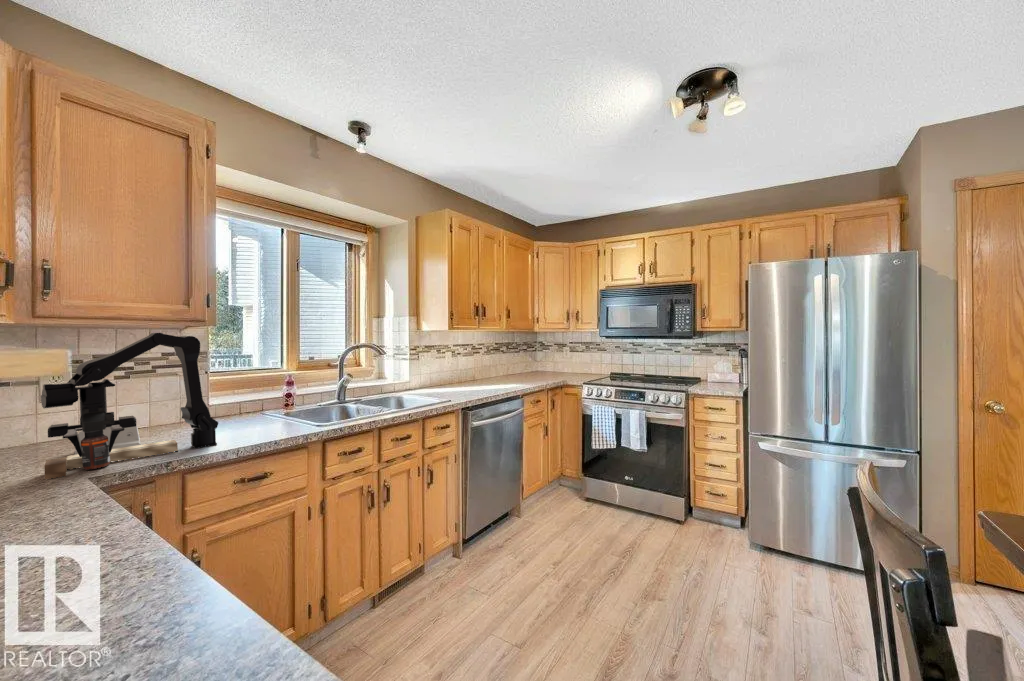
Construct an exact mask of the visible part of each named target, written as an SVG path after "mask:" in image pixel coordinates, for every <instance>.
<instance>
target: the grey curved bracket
mask: <svg viewBox="0 0 1024 681" xmlns="http://www.w3.org/2000/svg"><path fill="white" fill-rule="evenodd" d="M111 428H112V427H106V429H104V430H103V434H104V435H105V436H107V437H108V443H109V440H110V433H111ZM124 429H125V430H124V431H120V432H119V434H118V436H117V437H116V439H115V442H114V445H113V447H112V449H117V448H124V447H130V446H137V445H142V443H141V439H140V438H141V437H140V434H139V427H138V426H137V425H136V426H135V427H128V428H124ZM84 435H85V433H84V432H83V430H81V431H78V437H79V441H80V446H81V440H82V439H84V437H85V436H84ZM73 453H74V455H77V454H78V452H77V450H76V449H75V448H74V452H73Z"/></svg>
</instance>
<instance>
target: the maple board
mask: <svg viewBox="0 0 1024 681" xmlns="http://www.w3.org/2000/svg"><path fill="white" fill-rule="evenodd" d="M174 451H178V442H177V441H176V439H171V440H165V441H159V442H151V443H145V444H141V445H137V446H130V447H124V448H117V449H112V450H111V452H109V455H110V462H111V461H118V460H124V461H126V460H125V459H130V460H133V459H132V458H136V459H139V458H138V457H143V458H145V457H144V456H149V457H152V456H151V455H155V456H158V455H157V454H161V455H164V454H163V453H167V454H169V453H168V452H173V453H175V452H174ZM66 459H67V469H70V470H74V469H73V468H76V469H80V468H79V467H82V468H83V464H82V457H80V456H79V454H77V455H75V454H72V455H67V456H66ZM118 462H119V461H118Z"/></svg>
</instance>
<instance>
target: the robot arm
mask: <svg viewBox="0 0 1024 681" xmlns="http://www.w3.org/2000/svg"><path fill="white" fill-rule="evenodd" d="M158 346H163V347H169V348H173V349H174V352H175V355H176V356H177V358H178V360H179V361H180V363H181V370H182V371H181V372H182V378H183V384H184V391H185V396H186V403H185V406H180V411H181V419H183V420H184V422H185V423H187V424H188V425H189V426H190V428H191V429H192V433H190V445H191V446H192V447H193V446H194V447H195V448H194V447H193V448H194V449H199V448H198V447H200V448H205V446H206V447H212V446H217V445H218V443H217V440H216V435H217V433H216V429H217V428H218V425H219V422H218V421H217V420H215V419H214V418H212V417H211V412H210V410H209V408H208V406H207V404H206V402H205V400H204V399H203V392H202V387H201V378H200V377H201V376H200V371H199V370H200V369H199V365H198V364H199V363H198V360H199V356H200V352H201V341H200V339H199V338H197V337H196V336H193V335H182V336H179V335H178V336H177V335H171V334H167V333H163V332H151V333H150V334H148V335H146V336H145V337H143V338H141V339H139V340H137V341H135V342H133V343H131V344H129V345H128V344H127V345H126V346H125V347H122V348H120V349H118V350H117V351H114V352H112V353H109V354H107V355H104V356H100V357H96V358H92V359H90V360H88V361H84V362H81V363H80V364H79V365H78V366H76V371H75V372H76V373H75V374H74V375H73V376H72V377H71V378H70V379H69V380H68V381H67V382H64V383H44V384H42V390H41V394H40V403H41V406H42V407H41V408H42V409H44V410H45V409H52V408H59V407H61V408H62V407H69V406H73V405H74V403H77V402H78V401H79V414H80V415H79V424H74V425H73V424H72V425H69V423H68V422H66V423H58V424H51V425H50V426H49V427H48V428H47V438H48V439H49V438H58V437H62V439H63V440H64V439H68V440H69V441H70V443H71V444H72V445H73V447H74V450H75V449H76V450H77V452H78V454H79V456H80V457H82V452H81V446H80V441H79V437H78V434H79V432H80V431H83V432H90V431H95V430H104V429H106V427H112V428H111V433H110V440H109V452H111V450H112V447H113V445H114V442H115V439H116V437H117V436H118V434H119V432H120V431H124V430H125V429H124V428H128V427H135V426H137V418H136V417H135V416H134V415H126V416H118V419H115V412H114V411H109V412H108V406H107V405H108V404H107V401H108V400H107V388H110V387H112V388H113V387H115V386H116V384H115V383H113V382H111V381H110V380H109V379H107V378H106V377H108V376H109V375H110V374H112V373H113V372H114V371H115V370H116V369H117V368H119V367H120V366H121V365H123V364H125V363H127V362H129V361H131V360H133V359H135V358H136V357H138V356H141V355H142V354H144V353H147V352H149V351H150V350H152V349H154V348H156V347H158ZM101 380H102V381H101Z"/></svg>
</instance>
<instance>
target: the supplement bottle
mask: <svg viewBox="0 0 1024 681" xmlns="http://www.w3.org/2000/svg"><path fill="white" fill-rule="evenodd" d="M84 433H85V435H84V436H85V437H84V439H82V440H81V452H82V464H83V467H82V469H83V470H87V471H88V470H89V469H91V470H97V468H98V469H102V468H104V467H107V466H110V464H111V463H110V455H109V443H108V437H107V436H105V435H104V434H103V430H95V431H90V432H84ZM101 467H102V468H101Z"/></svg>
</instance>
